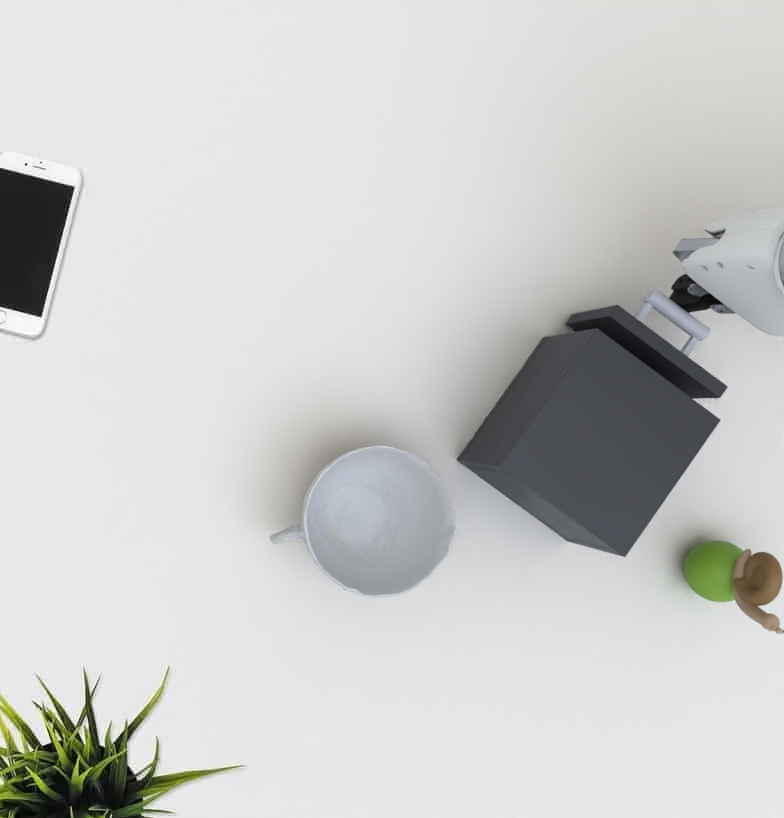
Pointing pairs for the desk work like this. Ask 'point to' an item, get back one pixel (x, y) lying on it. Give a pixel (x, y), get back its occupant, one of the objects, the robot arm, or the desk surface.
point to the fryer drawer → (656, 342)
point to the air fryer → (589, 440)
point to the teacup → (375, 521)
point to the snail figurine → (736, 578)
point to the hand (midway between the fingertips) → (682, 294)
